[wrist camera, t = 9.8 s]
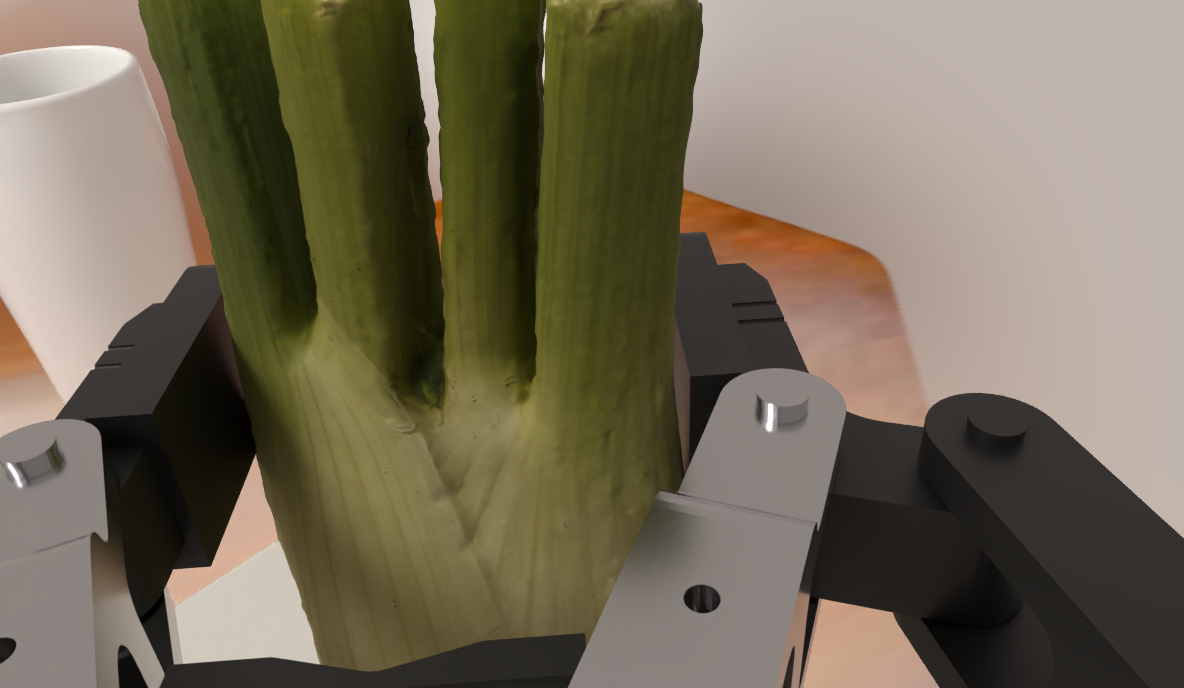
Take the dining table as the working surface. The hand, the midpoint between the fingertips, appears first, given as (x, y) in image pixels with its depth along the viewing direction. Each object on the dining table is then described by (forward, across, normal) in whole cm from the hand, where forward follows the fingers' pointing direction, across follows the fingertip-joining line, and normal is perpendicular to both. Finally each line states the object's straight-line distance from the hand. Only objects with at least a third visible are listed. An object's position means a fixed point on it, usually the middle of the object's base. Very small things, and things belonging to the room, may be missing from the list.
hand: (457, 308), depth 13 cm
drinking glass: (+18, +15, +16) cm, 29 cm away
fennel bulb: (-3, 0, +7) cm, 7 cm away
